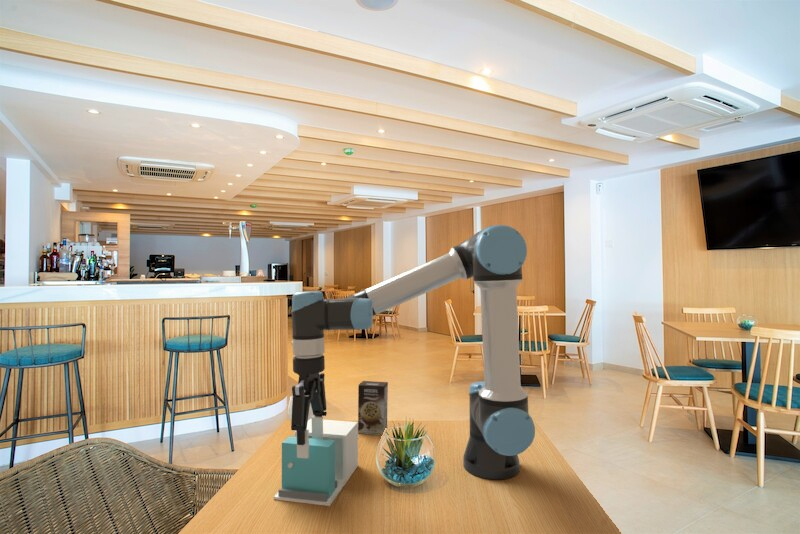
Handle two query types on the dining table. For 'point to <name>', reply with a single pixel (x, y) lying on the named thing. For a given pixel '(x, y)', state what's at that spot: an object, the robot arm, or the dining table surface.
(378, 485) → the dining table surface
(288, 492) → the cabinet
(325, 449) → the door
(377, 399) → the coffee box
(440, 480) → the dining table surface
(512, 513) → the dining table surface
